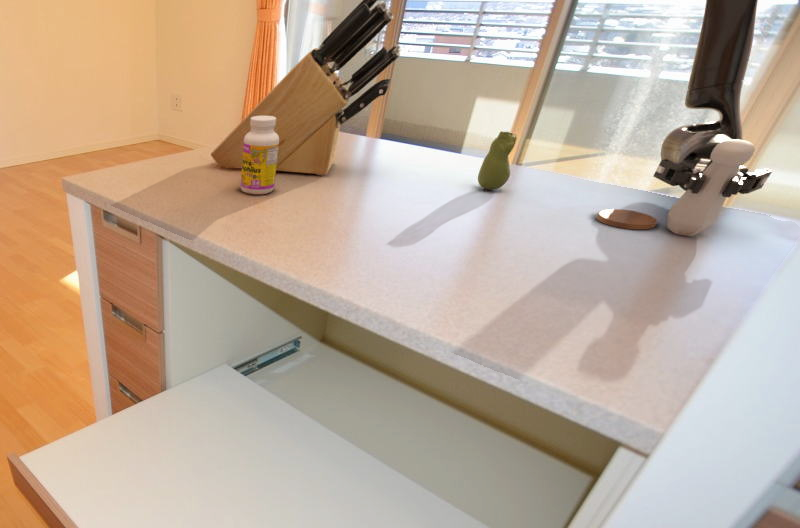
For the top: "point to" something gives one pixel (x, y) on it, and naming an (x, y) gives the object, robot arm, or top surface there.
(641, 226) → the coaster
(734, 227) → the top surface
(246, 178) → the supplement bottle
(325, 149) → the knife block
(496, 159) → the pear
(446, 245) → the top surface
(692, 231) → the salt shaker
